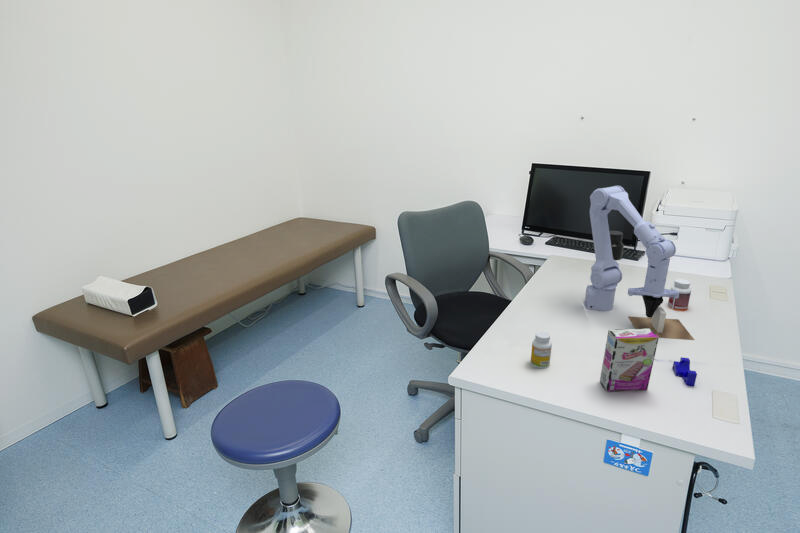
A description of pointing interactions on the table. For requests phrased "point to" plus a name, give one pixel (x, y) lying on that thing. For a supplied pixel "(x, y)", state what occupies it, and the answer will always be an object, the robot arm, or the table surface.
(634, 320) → the board
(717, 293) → the table surface
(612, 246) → the ink bottle
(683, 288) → the pill bottle
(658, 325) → the tile
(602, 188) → the robot arm
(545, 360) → the supplement bottle
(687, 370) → the cable holder
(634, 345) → the candy bar box
